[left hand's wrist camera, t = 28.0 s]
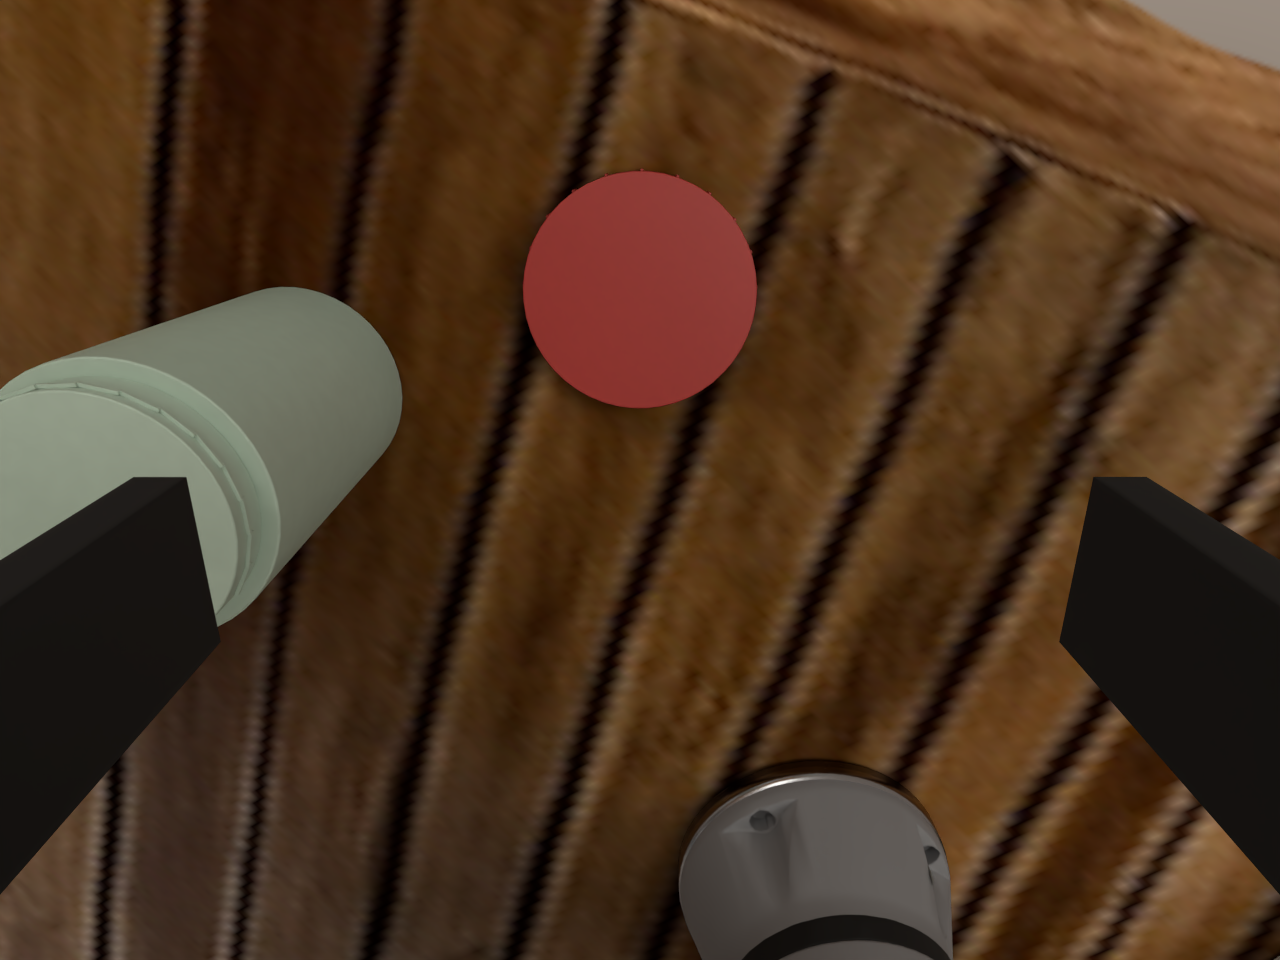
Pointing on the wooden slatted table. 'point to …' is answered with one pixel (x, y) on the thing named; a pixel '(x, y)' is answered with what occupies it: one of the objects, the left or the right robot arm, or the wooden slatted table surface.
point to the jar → (208, 428)
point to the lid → (639, 289)
